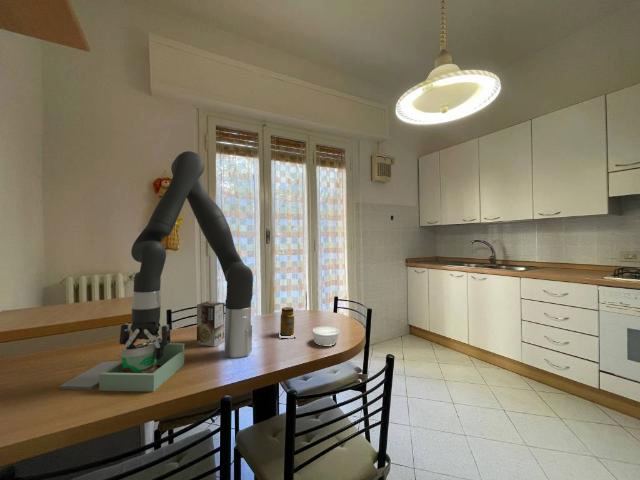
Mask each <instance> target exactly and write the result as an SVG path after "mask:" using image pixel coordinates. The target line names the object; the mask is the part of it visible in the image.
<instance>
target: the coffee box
mask: <svg viewBox="0 0 640 480" xmlns="http://www.w3.org/2000/svg"><path fill="white" fill-rule="evenodd" d="M223 343H225V302H220V301H204V302H201V303H198V304H196V345H202V346H209V347H213V348H214V347H216V346H219V345H221V344H223Z"/></svg>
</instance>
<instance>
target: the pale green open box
mask: <svg viewBox="0 0 640 480" xmlns="http://www.w3.org/2000/svg"><path fill="white" fill-rule="evenodd" d="M141 343H142V342H139V343H138V344H141ZM118 362H119V363H118V364H116V365H114V366H113V367H111V368H109V369H108V370H106V371H104V372H103V373H101V374H100V378H99V385H98V386H99V387H98V390H99V391H100V392H155V391H157V389H158V388H159V387H160V386H162V385H163V384H164V383H165V382H166V381H168V380H169V378H171V377H172V376H173V375H174V374H175V373H176V372H177V371H178V370H180V369H181V368H182V367H183V366H184V365H185V343H183V342H182V343H179V342H178V343H176V342H174V343H173V342H170V343H169V344H167V345H165V346H164V350H163V356H162V357H161V358H160V359H159V360H157V364H156V366H160V367H158V368H156V371H155V372H154V373H123V365H122V360H121V361H118Z"/></svg>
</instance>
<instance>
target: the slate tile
mask: <svg viewBox="0 0 640 480" xmlns="http://www.w3.org/2000/svg"><path fill="white" fill-rule="evenodd" d="M119 362H120V361H111V360H110V361H102V362H100V363H99V364H97V365H94V366H93V367H91V368H90V369H88V370H86V371H83V373H80V374H79V375H77V376H75V377H73V378H72V379H70V380H68V381H66V382H64V383H62V384H61V385H59V388H58V390H90V391H91V390H93V389H95V388H96V387H98V386H99V378H100V374H101V373H103V372H104V371H106V370H108V369H109V368H111V367H113V366H114V365H116V364H118V363H119Z"/></svg>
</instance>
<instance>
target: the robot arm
mask: <svg viewBox="0 0 640 480" xmlns="http://www.w3.org/2000/svg"><path fill="white" fill-rule="evenodd" d="M170 167H171V169H170V171H171V174H172V177H171V180H170V182H169V185H168V186H167V188H166V190H165V192H164V193H163V194H162V197H160V200H159V201H158V203H157V204H156V206H155V209H154V210H153V212H152V215H151V216H150V218H149V220H148V222H147V225H146V226H145V227H144V229H143V230H142V231H141V233H140V234H139V235H138V236H137V237H136V239H135V240H134V242H133V244H132V246H131V251H130V253H131V257H132V259H133V260H134V261H135V262H137V263H141V264H140V267H139V271H138V272H136V273H135V274H134V278H133V292H132V293H133V294H132V298H131V300H132V301H131V323H130V322H127V323H124V324H121V326H120V332H119V333H120V334H119V345H124V346H125V347H126V349H125V350H129V349H131V348H133V347H135V346H136V344H135V343H136V342H137V340H145V341H146V340H147V341H151V342H152V343H154V344H155V346H156V347H157V348H156V353H155V360H159V359H160V358H161V357H162V356H163V350H164V346H165V345H167V344H169V343H171V324H170V323H167V324H164V325H163V324H161V323H160V320H161V311H162V310H161V309H162V308H161V306H162V298H161V297H162V296H161V295H162V294H161V278H162V277H161V276H162V273H163V270H164V268H165V264H166V260H167V251H166V247H165V246H164V244H163V243H161V242H162V241H163V240H164V239H165V238H166V237H169V236H170V235H171V234H172V232H173V229H175V228H174V227H175V225H176V223H177V221H178V218H179V216H180V214H181V212H182V208H183V207H184V204H185V202H186V199H187V202H188V203H189V207H190V208H191V211H192V213H193V215H194V218H195V219H196V221H197V223H198V226H199V228H200V230H201V232H202V233H203V236H204V238H205V239H206V241H207V243H208V245H209V246H210V248H211V249H212V251H213V253H214V254H215V255H216V258H217V259H218V261H219V265H220V268H221V270H222V273H223V276H224V279H225V282H226V296H225V297H226V298H225V302H224V303H225V312H224V348H223V349H224V356H225V357H227V358H233V359H235V358H236V359H237V358H243V357H249V355H250V353H251V352H252V350H253V346H252V345H253V342H252V341H253V325H252V301H253V295H254V294H253V292H254V291H253V290H254V275H253V271H252V269H251V268H250V267H249V266H248V265H246V264H245V263H244V262H243V260H242V258H241V257H240V255H239V253H238V250H237V249H236V247H235V246H236V245H235V242H234V238H233V235H232V232H231V229H230V228H231V227H230V225H229V223H228V221H227V219H226V216H225V215H224V213H223V210H222V209H221V207H219V205H218V204H217V203H216V202H215V201H214V200H213V199H212V198H211V196H209V194H208V193H207V191H206V189H205V187H204V185H203V183H202V182H203V181H202V179H201V176H202V175H203V173H204V170H205V163H204V159H203V158H202V157H201V155H199V154H198V153H196V152H194V151H189V150H188V151H187V150H186V151H183V152H181V153H179V154H178V155H177V156H176V157H175V159H174V160H173V162H172V163H171V166H170ZM131 331H132V335H130V333H131ZM159 331H160V332H159ZM155 337H156V338H155Z"/></svg>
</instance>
